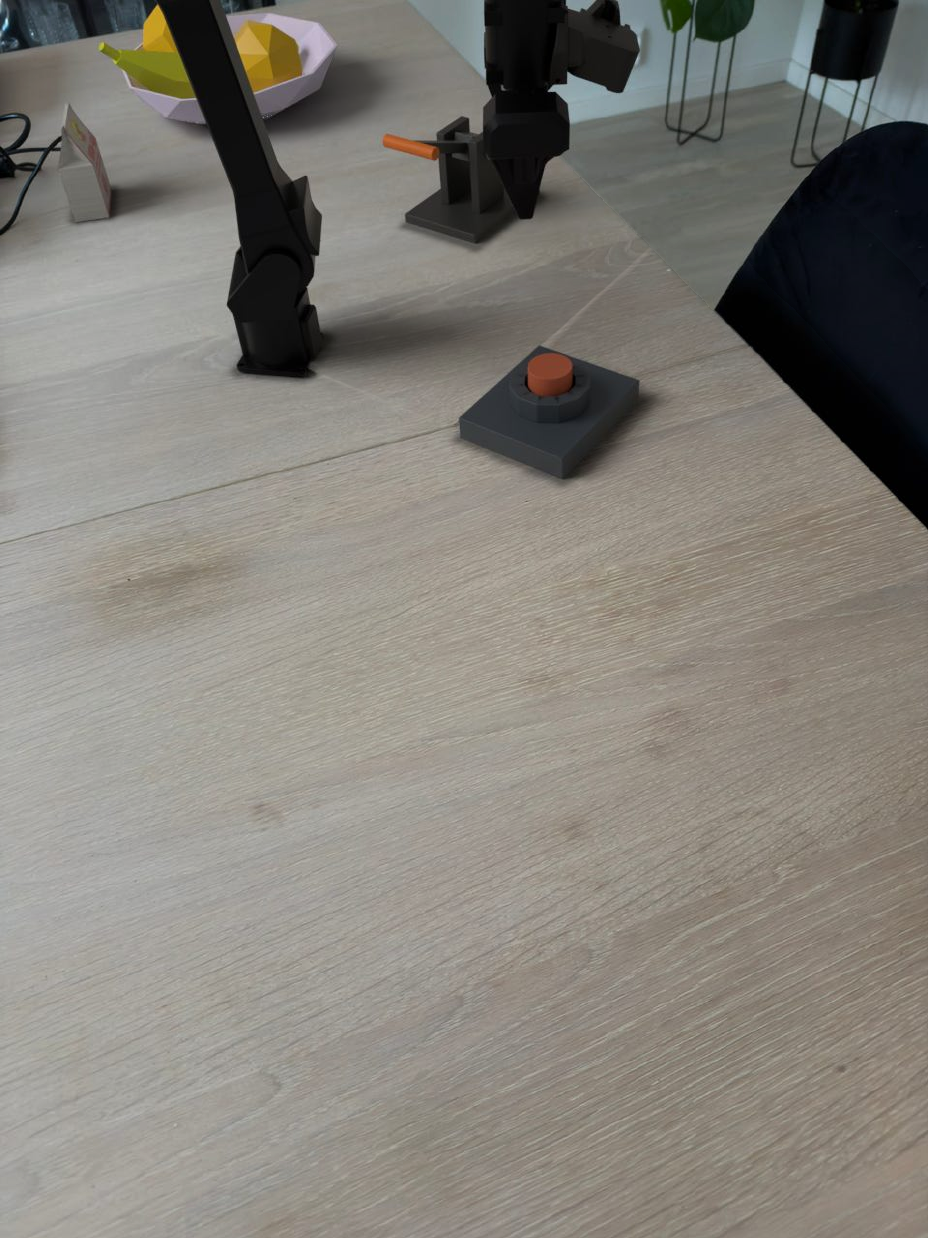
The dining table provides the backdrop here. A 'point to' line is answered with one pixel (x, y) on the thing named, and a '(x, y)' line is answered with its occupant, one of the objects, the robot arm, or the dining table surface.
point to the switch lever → (432, 146)
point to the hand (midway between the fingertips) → (524, 190)
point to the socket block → (549, 416)
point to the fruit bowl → (267, 54)
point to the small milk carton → (82, 170)
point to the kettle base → (464, 193)
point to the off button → (550, 374)
